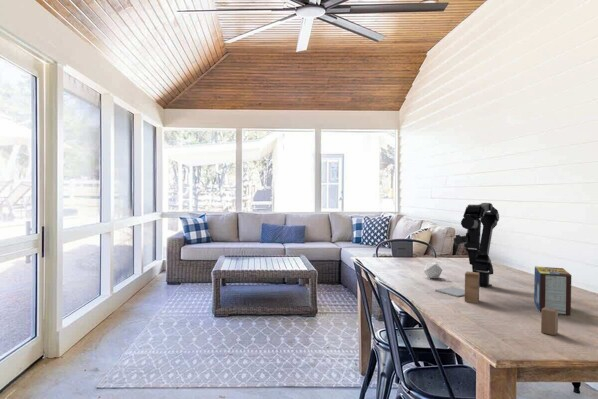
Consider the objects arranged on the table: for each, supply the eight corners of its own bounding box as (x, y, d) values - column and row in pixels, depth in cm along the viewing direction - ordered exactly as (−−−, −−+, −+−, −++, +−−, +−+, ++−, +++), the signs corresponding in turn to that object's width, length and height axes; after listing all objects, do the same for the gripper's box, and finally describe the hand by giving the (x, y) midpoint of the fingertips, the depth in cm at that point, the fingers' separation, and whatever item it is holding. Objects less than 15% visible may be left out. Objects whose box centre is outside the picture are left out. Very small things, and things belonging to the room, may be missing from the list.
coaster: (452, 287, 190) (452, 286, 190) (474, 293, 180) (474, 292, 180) (435, 291, 184) (435, 289, 184) (457, 297, 173) (457, 295, 173)
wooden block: (544, 329, 132) (544, 306, 132) (558, 333, 129) (558, 309, 129) (540, 332, 130) (541, 308, 129) (554, 336, 127) (555, 311, 127)
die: (439, 281, 206) (447, 265, 209) (423, 272, 207) (431, 256, 210) (433, 284, 214) (441, 268, 217) (418, 275, 215) (426, 259, 218)
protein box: (562, 305, 162) (563, 267, 162) (571, 316, 148) (572, 275, 148) (533, 302, 166) (534, 265, 166) (538, 312, 152) (539, 272, 152)
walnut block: (466, 298, 171) (466, 271, 171) (479, 300, 168) (479, 272, 168) (464, 301, 167) (465, 273, 166) (477, 303, 164) (477, 274, 164)
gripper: (457, 231, 195) (455, 262, 194) (453, 228, 179) (451, 262, 177) (481, 233, 190) (479, 265, 189) (480, 230, 174) (477, 265, 172)
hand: (471, 264), depth 182 cm, fingers open, 9 cm apart
